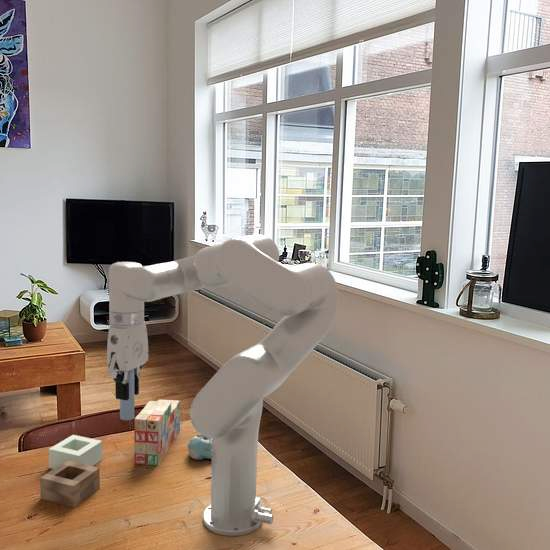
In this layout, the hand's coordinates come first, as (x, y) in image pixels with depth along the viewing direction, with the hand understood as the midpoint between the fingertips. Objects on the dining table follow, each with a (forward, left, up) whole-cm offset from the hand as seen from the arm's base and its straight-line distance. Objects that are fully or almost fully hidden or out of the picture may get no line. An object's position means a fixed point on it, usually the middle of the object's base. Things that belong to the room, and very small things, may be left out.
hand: (127, 395), depth 135 cm
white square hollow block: (+18, -4, -22) cm, 29 cm away
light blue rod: (0, 0, -5) cm, 5 cm away
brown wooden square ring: (+10, +8, -22) cm, 25 cm away
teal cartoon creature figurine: (-9, -22, -23) cm, 33 cm away
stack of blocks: (+4, -21, -23) cm, 31 cm away
